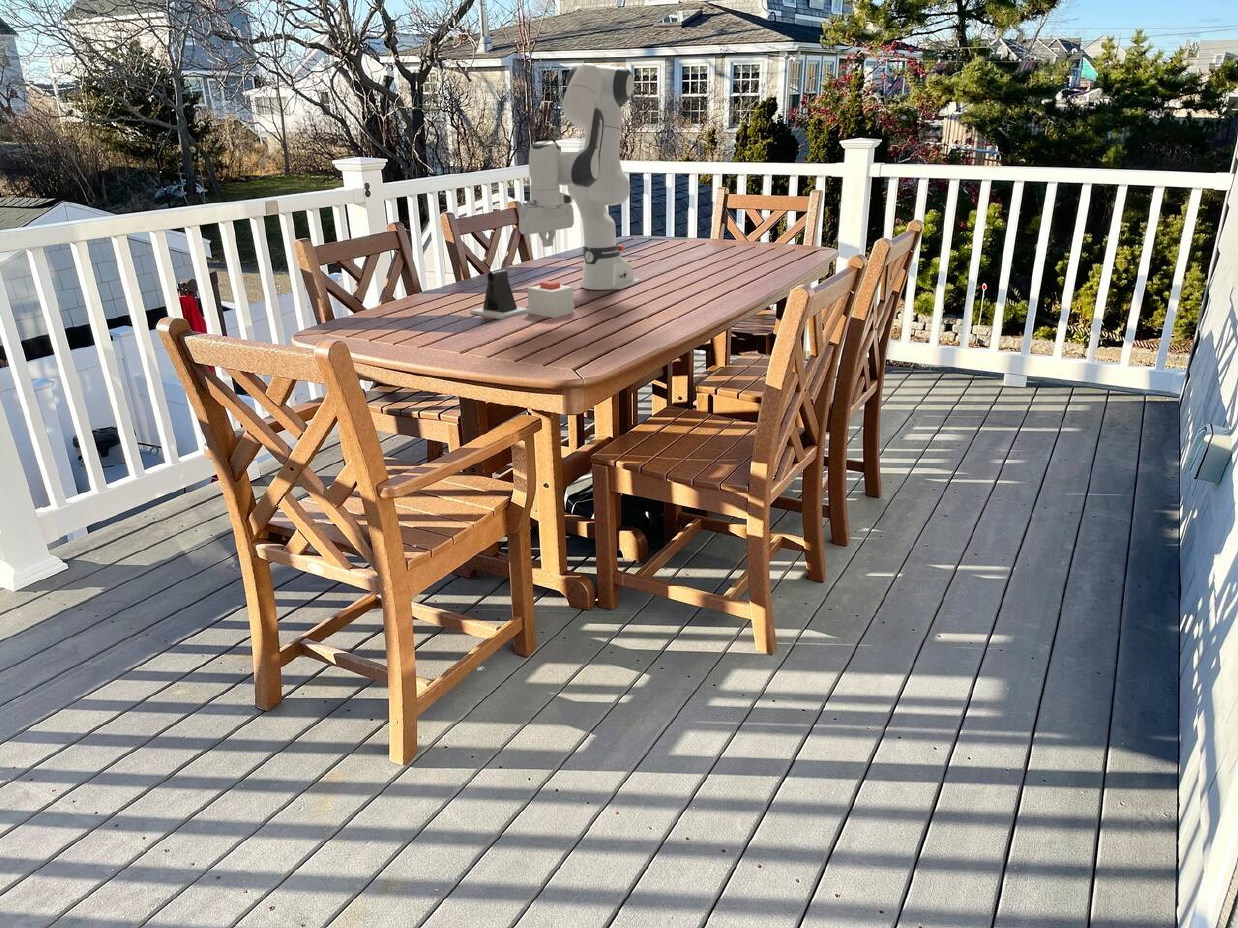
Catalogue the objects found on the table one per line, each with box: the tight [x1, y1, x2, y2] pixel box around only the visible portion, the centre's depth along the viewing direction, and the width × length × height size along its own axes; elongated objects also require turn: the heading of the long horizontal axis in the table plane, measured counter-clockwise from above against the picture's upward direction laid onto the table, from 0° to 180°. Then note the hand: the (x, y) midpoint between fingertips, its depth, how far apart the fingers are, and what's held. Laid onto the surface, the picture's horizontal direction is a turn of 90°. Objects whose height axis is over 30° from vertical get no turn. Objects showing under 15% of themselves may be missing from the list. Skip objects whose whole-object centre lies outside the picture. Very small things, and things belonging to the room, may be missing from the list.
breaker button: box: [539, 280, 561, 290], centre depth 278 cm, size 4×5×3 cm
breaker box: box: [527, 284, 575, 319], centre depth 279 cm, size 9×11×8 cm
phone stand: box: [482, 268, 518, 313], centre depth 280 cm, size 9×6×12 cm, turn 52°
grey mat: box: [470, 306, 529, 320], centre depth 283 cm, size 12×14×1 cm
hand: (547, 246), depth 273 cm, fingers closed
